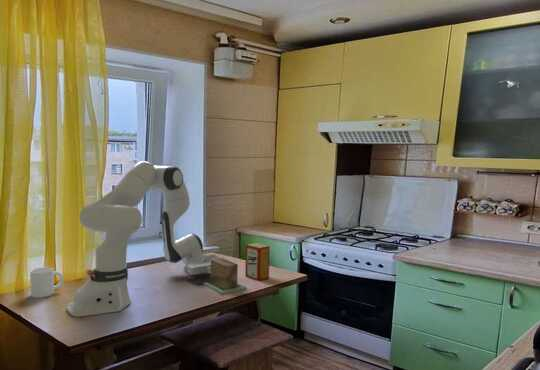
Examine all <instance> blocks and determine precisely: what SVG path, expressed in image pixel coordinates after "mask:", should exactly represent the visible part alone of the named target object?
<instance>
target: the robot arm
mask: <svg viewBox="0 0 540 370" xmlns="http://www.w3.org/2000/svg"><path fill="white" fill-rule="evenodd" d="M149 190H151V191H158V192H160V191H161V192H163V193H162V194H163V197H164V202H165V206H164V210H163V211H162V213H161V227H162V228H161V230H162V239H163V256H164V257H165V259H166V261H167V262H169V263H173V264H177V263H178V262H180V261H181V262H182V264H184V266H183V269H184V270H186V273H188V274H189V276H196V275H200V274H201V275H202V274H203V275H204V274H206V273H211V260H212V259H219V258H220V257H219V255H213V254H212V255H208V254H203V251H204V245H203V242H202V239H201V237H199V236H198V235H197V234H195V233H192V232H190V233H188V234H186V235H183V236H181V237H180V238H178V239H175V236H174V235H175V234H174V226H175V224H176V222H177V221H178V220H180V218H182V216H183V215H184V214H185V213H186V212H187V211H188V209H190V205H191V204H190V203H191V201H190V196H189V192H188V189H187V186H186V184H185V181H184V174H183V172H182V171H181V169H180V168H179V167H177V166H175V165H169V166H167V165H153V164H152V163H150V162H149V161H145V160H142V161H139V162H137V163H136V164H135V165H134V166H132V167H131V168H130V169H129V170H128V171H127V173H126V174H125V175H124V176H123V178H122V179H121V180H120V181H119V182H118V184H117V185H116V186H114V188H113V189H112V190H111V191H109V192H108V193H107V194H105V195H104V196H102V197H101V198H100V199H97V200H95V201H94V202H92V203H91V202H90V203H88V204H86V205H84V207H82V209H81V211H80V212H79V222H80V224H81V225H82V227H84V228H85V229H87V230H89V231H92V232H99V233H101V232H102V233H105V238H104V241H103V242H102V243H101V244H99V245H98V246H97V247H96V249H95V268H94V269H93V270H92V269H87V270H86V274H87V275H88V276H89V278H90V279H89V280H88V281H87V282H85V284H83V285H82V286H81V287H79V288H78V289H77V290H76V291H75V293H74V297H73V302H70V303H69V304H68V305H67V308H66V309H67V312H68V314H70V315H71V316H73V317H75V318H76V317H77V318H79V317H87V316H94V315H95V316H96V315H102V314H110V313H116V312H120V311H123V309H124V308H126V307H128V306H129V305H130V304H131V302H132V300H131V298H130V293H129V289H128V278H129V273H128V272H129V271H128V266H127V254H128V253H127V251H128V250H127V249H128V244H129V242H130V239H131V238H132V236H133V235H134V234H135V233H137V232H138V231H139V229H140V228H141V226H142V223H143V217H142V216H143V215H142V214H141V211H140V210H139V209H138V208H136V207H137V206H138V205H139V204H140V203H141V201H142V200H143V199H144V197H145V196H146V194H147V193H148V191H149Z"/></svg>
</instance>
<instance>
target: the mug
mask: <svg viewBox="0 0 540 370" xmlns="http://www.w3.org/2000/svg"><path fill="white" fill-rule="evenodd" d="M29 276H30V283H29V284H30V296H31V297H32V298H35V299H43V298H47V297H50V296H53V294H54V291H55V290H57V289H59V288H60V287H62V285H63V283H64V276H63V274H62V272H59V271H55V270H54V268H53V267H47V266H46V267H38V268H34V269H31V270H30V273H29ZM54 276H57V277H59V278H58V279H59V283H57V284H56V285H54V284H55V282H54V281H55V279H54Z"/></svg>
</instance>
